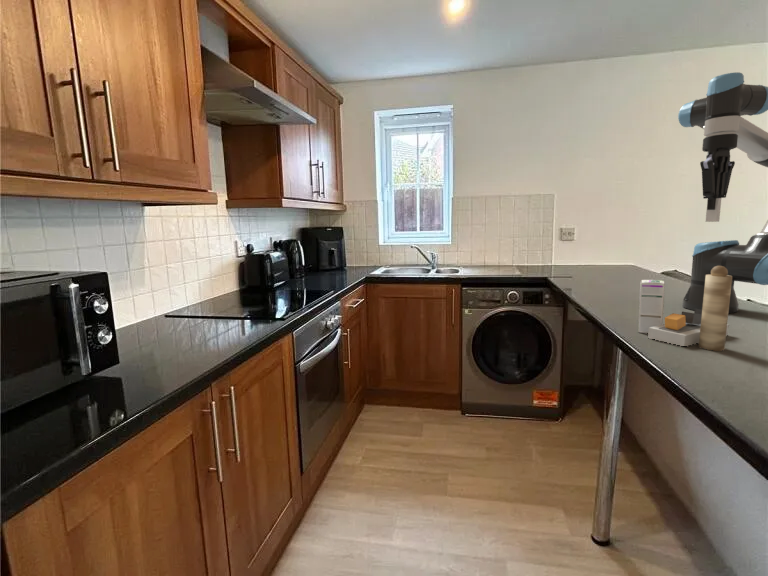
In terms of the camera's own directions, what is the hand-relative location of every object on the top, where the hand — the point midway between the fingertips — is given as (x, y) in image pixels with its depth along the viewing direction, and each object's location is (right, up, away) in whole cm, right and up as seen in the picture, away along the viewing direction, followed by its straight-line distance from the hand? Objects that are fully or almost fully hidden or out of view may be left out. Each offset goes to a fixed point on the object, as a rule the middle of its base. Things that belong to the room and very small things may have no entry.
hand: (712, 221), depth 118 cm
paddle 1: (-18, -30, -10) cm, 36 cm away
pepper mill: (-13, -34, -16) cm, 40 cm away
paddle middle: (-12, -29, -7) cm, 33 cm away
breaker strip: (-12, -32, -7) cm, 35 cm away
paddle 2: (-7, -29, -5) cm, 30 cm away
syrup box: (-18, -32, -1) cm, 37 cm away
